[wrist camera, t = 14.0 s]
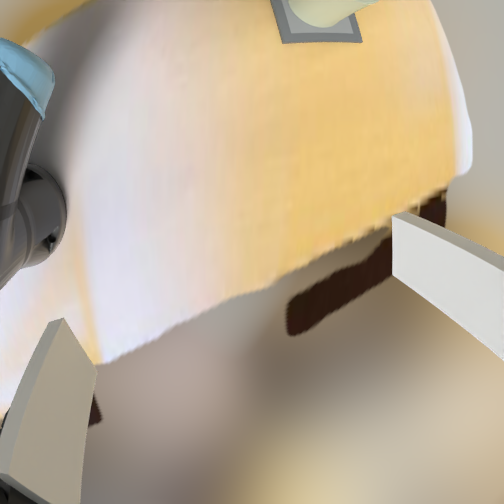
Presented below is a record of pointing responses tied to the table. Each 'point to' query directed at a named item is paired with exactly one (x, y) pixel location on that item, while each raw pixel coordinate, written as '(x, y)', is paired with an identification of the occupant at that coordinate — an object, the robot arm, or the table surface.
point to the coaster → (312, 27)
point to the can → (326, 10)
